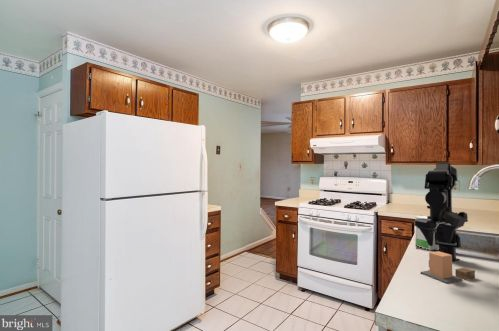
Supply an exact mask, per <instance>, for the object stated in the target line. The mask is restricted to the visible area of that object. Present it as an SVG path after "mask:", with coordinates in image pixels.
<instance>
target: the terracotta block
mask: <svg viewBox="0 0 499 331" xmlns="http://www.w3.org/2000/svg"><path fill="white" fill-rule="evenodd" d="M428 254H429V256H428V268H429V270H430V274H432V275H434V276H437V277H440V278H442V279H443V278H449V277H452V275H453V261H452V255H450V254H446V253H443V252H440V251H439V250H437V251H432V252H429V253H428Z"/></svg>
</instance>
